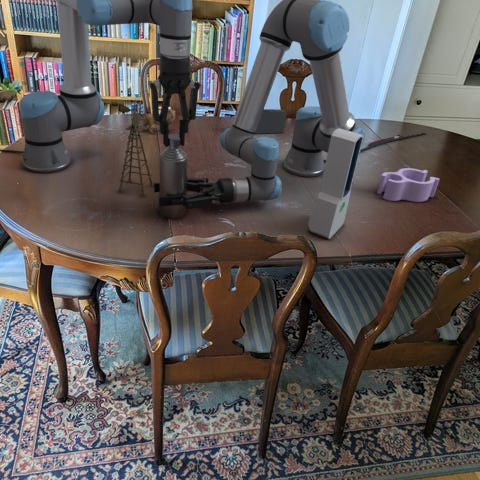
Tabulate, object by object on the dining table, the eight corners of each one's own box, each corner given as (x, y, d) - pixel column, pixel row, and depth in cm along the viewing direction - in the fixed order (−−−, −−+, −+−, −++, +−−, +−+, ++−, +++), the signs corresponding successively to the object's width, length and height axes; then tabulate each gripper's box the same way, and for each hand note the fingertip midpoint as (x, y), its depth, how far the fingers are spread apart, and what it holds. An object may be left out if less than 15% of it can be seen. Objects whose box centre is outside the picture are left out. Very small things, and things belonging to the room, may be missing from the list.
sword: (406, 133, 221) (407, 131, 220) (412, 136, 219) (412, 133, 218) (363, 145, 205) (363, 143, 204) (368, 148, 203) (369, 145, 202)
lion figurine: (173, 128, 199) (174, 107, 194) (176, 132, 195) (177, 111, 190) (139, 129, 194) (138, 108, 189) (141, 134, 190) (140, 112, 185)
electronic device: (328, 241, 134) (351, 142, 118) (305, 232, 137) (324, 134, 121) (344, 224, 143) (367, 130, 127) (322, 215, 146) (342, 123, 130)
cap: (168, 140, 130) (168, 133, 129) (182, 142, 130) (182, 135, 129) (165, 145, 127) (165, 138, 126) (179, 147, 127) (179, 140, 126)
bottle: (159, 218, 136) (158, 143, 124) (160, 205, 143) (160, 133, 131) (185, 218, 138) (188, 144, 125) (185, 206, 144) (188, 134, 132)
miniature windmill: (143, 196, 146) (140, 101, 130) (117, 192, 147) (112, 96, 131) (153, 184, 154) (152, 93, 137) (129, 180, 155) (125, 88, 138)
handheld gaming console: (281, 130, 209) (284, 108, 204) (284, 133, 207) (287, 110, 202) (233, 132, 202) (235, 109, 197) (235, 134, 200) (237, 111, 195)
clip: (390, 204, 157) (396, 186, 154) (370, 187, 167) (375, 170, 163) (438, 200, 164) (444, 182, 160) (416, 184, 173) (422, 167, 170)
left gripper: (144, 58, 110) (146, 151, 123) (212, 59, 116) (207, 147, 129) (138, 51, 116) (140, 141, 128) (202, 52, 122) (198, 138, 135)
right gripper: (240, 217, 136) (162, 223, 129) (221, 185, 152) (151, 189, 146) (242, 195, 132) (162, 200, 125) (223, 164, 148) (151, 167, 142)
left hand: (173, 144), depth 129 cm, fingers closed on cap, 4 cm apart
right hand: (156, 194), depth 135 cm, fingers closed on bottle, 8 cm apart
